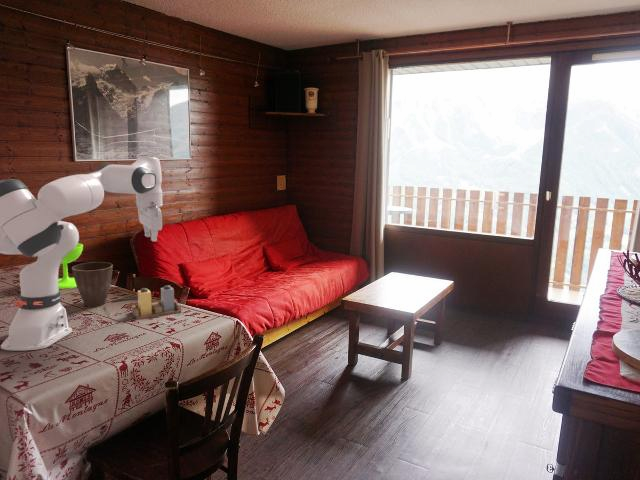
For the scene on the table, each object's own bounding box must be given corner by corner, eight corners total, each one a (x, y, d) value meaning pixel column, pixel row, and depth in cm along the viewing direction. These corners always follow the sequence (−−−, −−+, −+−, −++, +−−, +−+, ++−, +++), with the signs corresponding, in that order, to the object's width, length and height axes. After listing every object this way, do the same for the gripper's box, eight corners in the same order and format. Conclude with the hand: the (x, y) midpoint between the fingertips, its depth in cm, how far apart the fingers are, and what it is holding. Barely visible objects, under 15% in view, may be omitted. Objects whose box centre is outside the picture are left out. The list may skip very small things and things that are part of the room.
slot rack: (181, 315, 183) (181, 305, 182) (137, 322, 174) (136, 312, 173) (174, 308, 190) (174, 299, 190) (131, 315, 182) (131, 305, 181)
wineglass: (51, 280, 224) (48, 243, 221) (88, 278, 229) (85, 242, 226) (42, 289, 209) (39, 250, 206) (82, 287, 214) (79, 249, 211)
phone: (153, 299, 199) (116, 305, 190) (153, 301, 199) (116, 308, 190) (146, 294, 205) (110, 300, 196) (146, 297, 205) (110, 303, 196)
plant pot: (67, 309, 185) (64, 270, 182) (84, 297, 200) (82, 261, 197) (105, 310, 186) (103, 271, 183) (120, 298, 201) (118, 262, 198)
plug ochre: (151, 314, 179) (150, 289, 177) (140, 316, 177) (139, 291, 175) (149, 311, 182) (148, 286, 181) (138, 313, 180) (137, 288, 178)
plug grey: (174, 311, 184) (173, 286, 182) (164, 313, 182) (163, 288, 180) (171, 308, 187) (170, 284, 185) (161, 310, 185) (160, 285, 183)
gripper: (166, 204, 162) (167, 243, 165) (151, 198, 179) (153, 233, 182) (147, 204, 159) (148, 244, 161) (134, 198, 176) (135, 234, 178)
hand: (150, 238), depth 172 cm, fingers open, 8 cm apart
